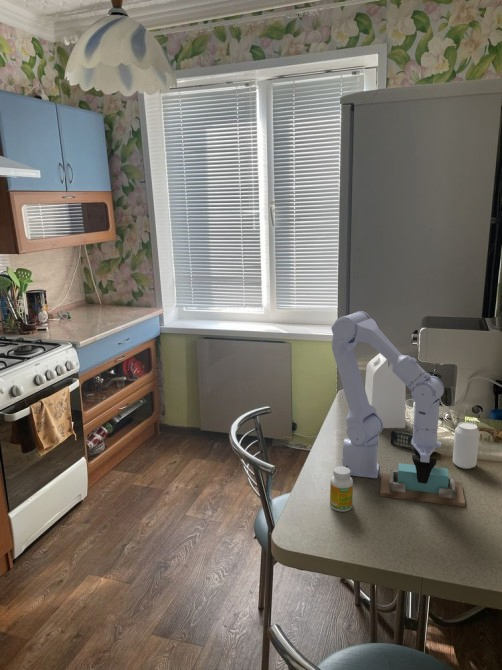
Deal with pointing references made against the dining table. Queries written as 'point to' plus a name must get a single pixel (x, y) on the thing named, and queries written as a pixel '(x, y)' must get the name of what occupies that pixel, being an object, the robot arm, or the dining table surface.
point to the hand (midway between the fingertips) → (421, 474)
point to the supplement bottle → (341, 489)
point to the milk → (385, 392)
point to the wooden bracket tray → (444, 497)
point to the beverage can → (466, 445)
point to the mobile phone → (402, 439)
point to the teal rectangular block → (435, 482)
